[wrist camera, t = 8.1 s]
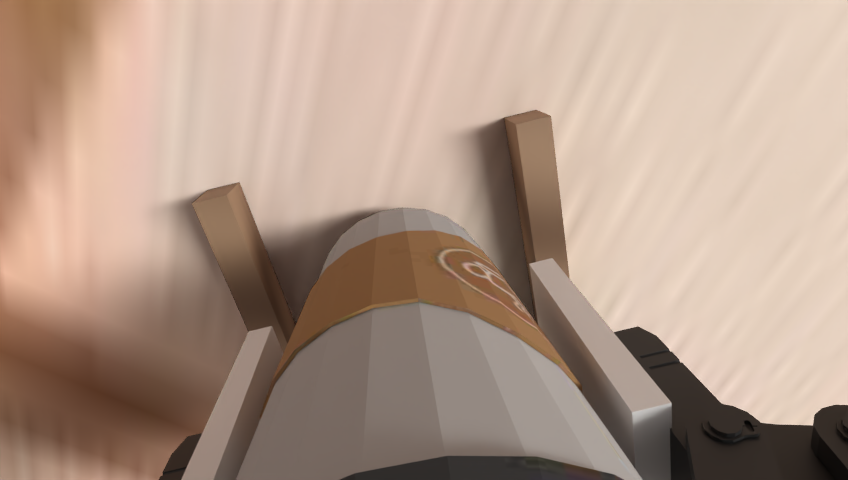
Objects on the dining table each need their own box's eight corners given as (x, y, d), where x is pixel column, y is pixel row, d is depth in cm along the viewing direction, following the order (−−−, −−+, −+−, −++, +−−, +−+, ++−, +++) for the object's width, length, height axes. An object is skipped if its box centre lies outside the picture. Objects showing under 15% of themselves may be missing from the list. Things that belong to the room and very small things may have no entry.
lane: (207, 190, 17) (127, 257, 12) (536, 110, 17) (610, 140, 12) (357, 542, 25) (351, 682, 20) (583, 487, 25) (641, 612, 20)
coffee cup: (549, 269, 19) (984, 838, 5) (410, 396, 21) (470, 1064, 7) (398, 128, 17) (497, 544, 3) (253, 288, 18) (-122, 1017, 5)
